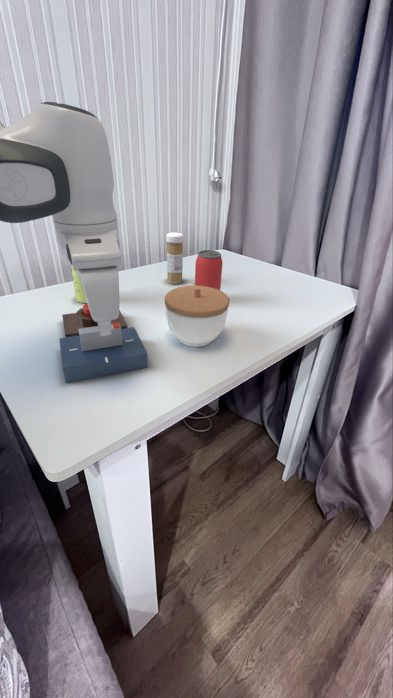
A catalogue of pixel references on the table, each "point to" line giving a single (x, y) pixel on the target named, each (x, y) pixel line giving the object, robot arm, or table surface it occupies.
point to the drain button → (86, 310)
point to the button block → (84, 322)
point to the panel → (102, 357)
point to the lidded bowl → (196, 314)
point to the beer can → (208, 269)
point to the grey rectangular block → (100, 337)
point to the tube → (78, 287)
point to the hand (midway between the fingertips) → (100, 320)
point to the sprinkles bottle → (174, 257)
